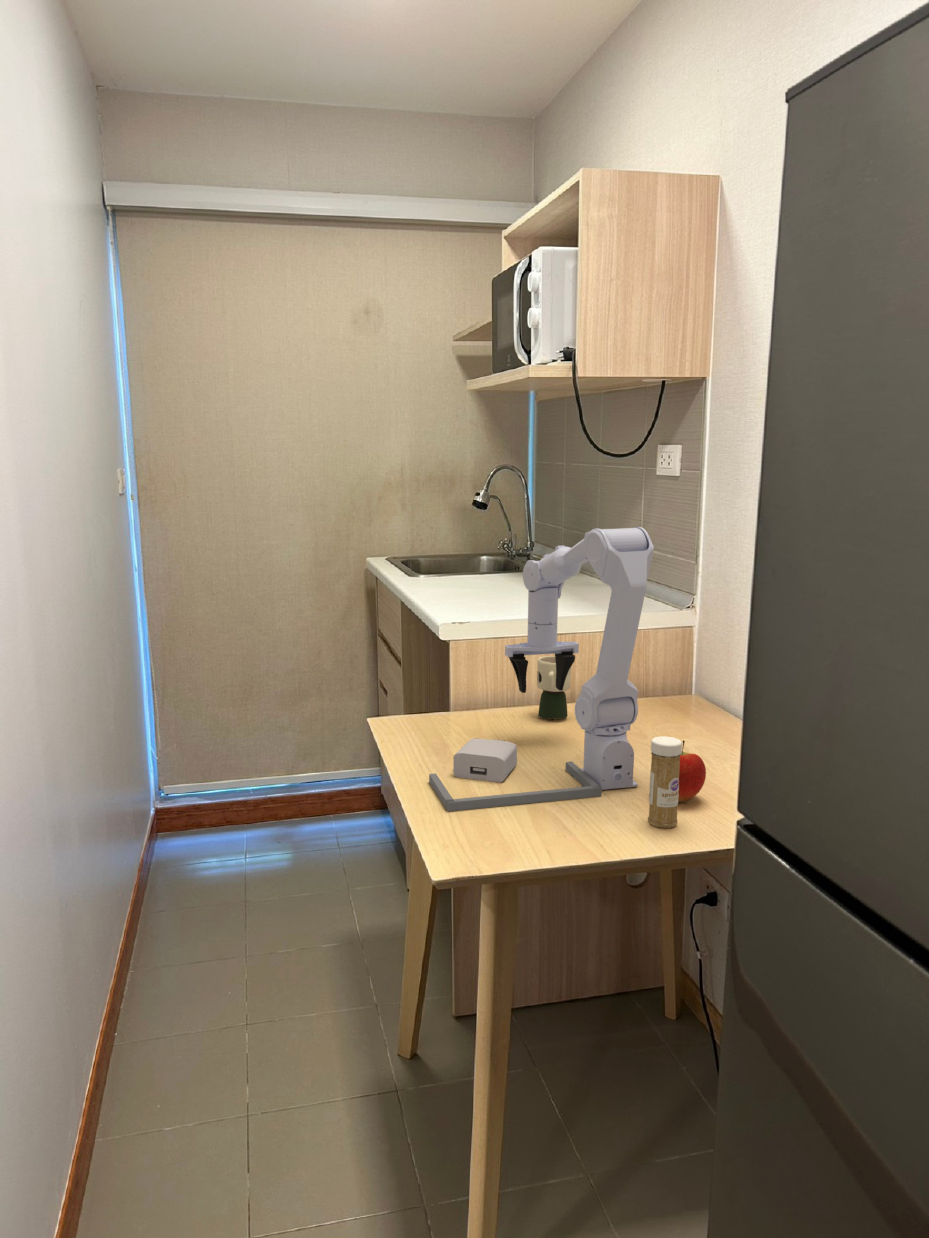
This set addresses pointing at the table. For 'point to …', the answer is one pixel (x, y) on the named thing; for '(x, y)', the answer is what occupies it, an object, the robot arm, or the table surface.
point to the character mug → (551, 689)
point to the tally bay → (586, 791)
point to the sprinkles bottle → (664, 781)
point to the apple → (690, 775)
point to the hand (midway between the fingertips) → (541, 690)
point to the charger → (485, 760)
